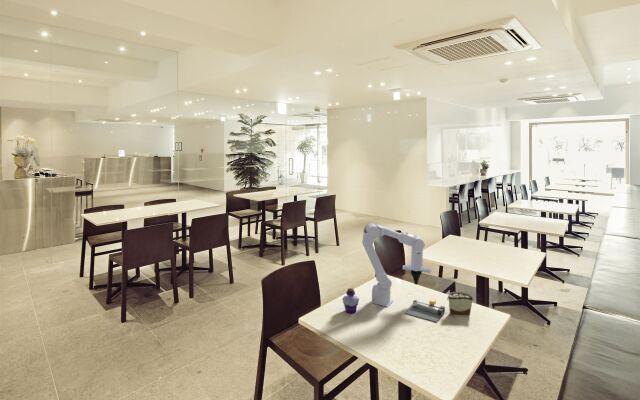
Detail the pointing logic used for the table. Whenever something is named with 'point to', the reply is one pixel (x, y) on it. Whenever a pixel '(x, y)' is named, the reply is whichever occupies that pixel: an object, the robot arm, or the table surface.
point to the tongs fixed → (433, 306)
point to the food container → (460, 303)
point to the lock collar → (432, 302)
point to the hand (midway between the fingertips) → (416, 283)
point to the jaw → (427, 308)
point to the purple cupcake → (350, 301)
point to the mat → (422, 314)
